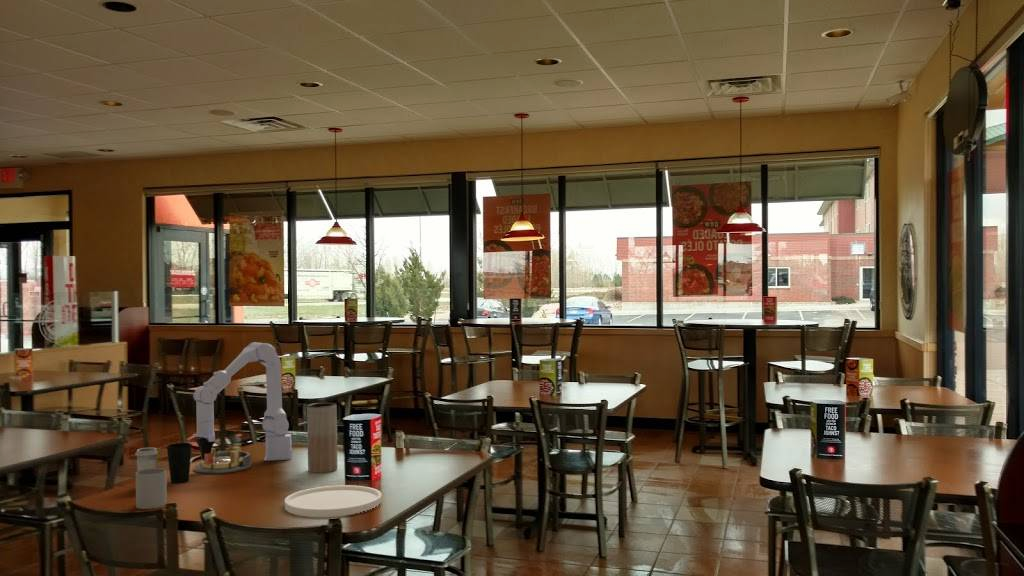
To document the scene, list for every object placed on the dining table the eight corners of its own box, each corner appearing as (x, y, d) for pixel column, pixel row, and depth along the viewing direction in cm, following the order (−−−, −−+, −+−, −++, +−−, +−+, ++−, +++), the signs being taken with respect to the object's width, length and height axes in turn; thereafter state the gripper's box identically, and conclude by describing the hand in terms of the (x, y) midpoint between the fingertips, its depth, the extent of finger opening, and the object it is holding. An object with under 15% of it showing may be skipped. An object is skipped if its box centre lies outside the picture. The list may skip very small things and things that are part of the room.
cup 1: (131, 486, 271) (130, 449, 271) (151, 482, 276) (150, 446, 276) (143, 490, 266) (142, 452, 266) (162, 485, 272) (162, 448, 272)
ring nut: (246, 459, 306) (245, 445, 306) (243, 467, 292) (242, 452, 292) (203, 461, 303) (203, 447, 303) (198, 470, 289) (198, 455, 289)
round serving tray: (254, 460, 308) (254, 449, 308) (247, 472, 290) (247, 460, 290) (199, 463, 305) (199, 452, 305) (189, 475, 286) (189, 463, 286)
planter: (309, 474, 286) (308, 407, 285) (306, 468, 295) (305, 403, 295) (339, 471, 289) (338, 405, 289) (335, 465, 298) (334, 402, 298)
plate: (292, 523, 228) (292, 514, 228) (278, 499, 254) (278, 491, 254) (393, 510, 239) (392, 502, 239) (369, 489, 265) (369, 481, 265)
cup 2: (173, 502, 250) (172, 469, 250) (152, 509, 243) (152, 475, 243) (150, 500, 253) (149, 467, 253) (129, 507, 245) (129, 473, 245)
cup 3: (186, 484, 274) (185, 447, 274) (163, 484, 274) (162, 447, 274) (195, 478, 281) (195, 442, 281) (173, 478, 282) (172, 442, 282)
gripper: (187, 419, 297) (187, 457, 297) (200, 424, 286) (200, 464, 286) (207, 417, 301) (208, 454, 301) (220, 422, 290) (221, 461, 290)
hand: (205, 459), depth 294 cm, fingers closed
